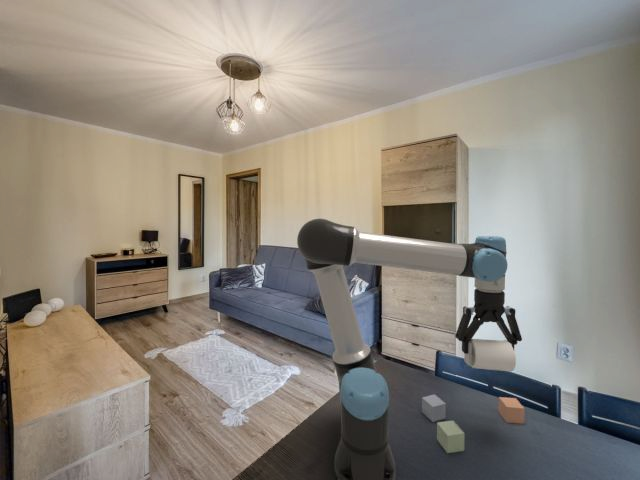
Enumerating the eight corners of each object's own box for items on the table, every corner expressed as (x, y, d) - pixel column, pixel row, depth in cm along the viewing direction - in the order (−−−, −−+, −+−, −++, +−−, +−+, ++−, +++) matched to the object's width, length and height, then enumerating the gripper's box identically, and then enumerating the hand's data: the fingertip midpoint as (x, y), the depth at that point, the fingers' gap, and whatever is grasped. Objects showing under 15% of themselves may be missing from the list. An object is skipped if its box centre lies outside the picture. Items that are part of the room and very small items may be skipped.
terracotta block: (506, 422, 86) (506, 406, 86) (498, 411, 91) (498, 396, 91) (524, 424, 85) (524, 408, 85) (515, 413, 90) (515, 398, 90)
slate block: (432, 422, 86) (432, 407, 86) (421, 412, 91) (422, 397, 91) (445, 418, 88) (445, 403, 88) (434, 408, 93) (434, 394, 92)
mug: (515, 377, 75) (516, 348, 75) (475, 373, 77) (476, 345, 77) (496, 356, 87) (497, 331, 87) (462, 353, 89) (462, 329, 89)
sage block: (447, 453, 75) (447, 435, 75) (436, 439, 80) (437, 422, 79) (464, 450, 76) (464, 433, 75) (452, 437, 81) (452, 420, 80)
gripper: (454, 293, 77) (453, 370, 78) (539, 292, 76) (537, 370, 78) (443, 286, 84) (442, 357, 86) (520, 286, 84) (518, 357, 85)
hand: (487, 363), depth 82 cm, fingers closed on mug, 11 cm apart
